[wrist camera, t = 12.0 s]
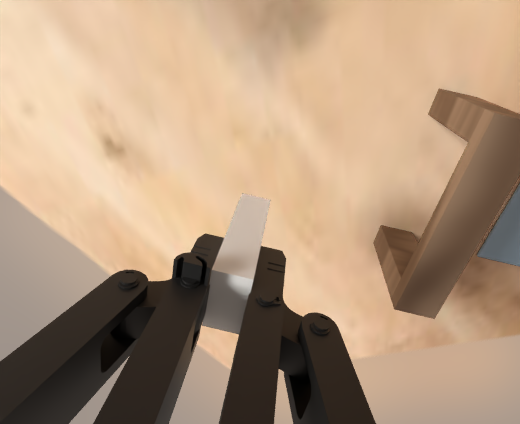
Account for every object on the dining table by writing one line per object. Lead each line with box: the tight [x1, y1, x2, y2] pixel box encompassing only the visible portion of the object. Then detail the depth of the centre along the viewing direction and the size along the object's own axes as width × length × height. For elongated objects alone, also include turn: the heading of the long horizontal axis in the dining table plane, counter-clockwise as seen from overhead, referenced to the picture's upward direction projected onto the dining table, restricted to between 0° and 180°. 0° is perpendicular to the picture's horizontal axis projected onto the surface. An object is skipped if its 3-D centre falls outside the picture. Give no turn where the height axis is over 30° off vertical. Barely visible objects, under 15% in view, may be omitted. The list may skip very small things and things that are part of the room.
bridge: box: [374, 89, 520, 319], centre depth 27 cm, size 3×14×9 cm, turn 168°
